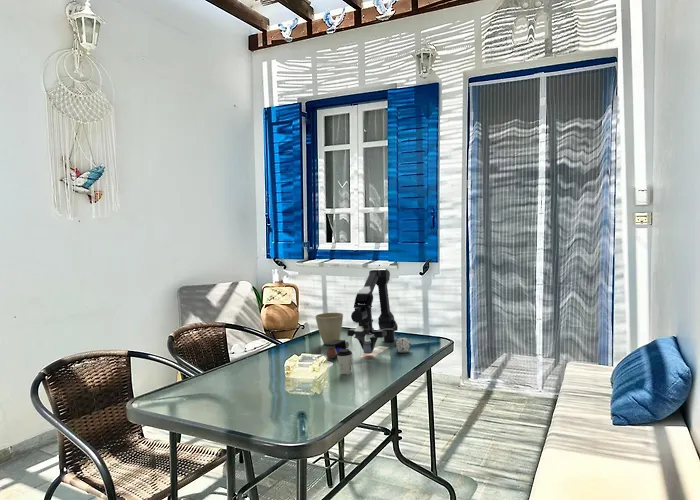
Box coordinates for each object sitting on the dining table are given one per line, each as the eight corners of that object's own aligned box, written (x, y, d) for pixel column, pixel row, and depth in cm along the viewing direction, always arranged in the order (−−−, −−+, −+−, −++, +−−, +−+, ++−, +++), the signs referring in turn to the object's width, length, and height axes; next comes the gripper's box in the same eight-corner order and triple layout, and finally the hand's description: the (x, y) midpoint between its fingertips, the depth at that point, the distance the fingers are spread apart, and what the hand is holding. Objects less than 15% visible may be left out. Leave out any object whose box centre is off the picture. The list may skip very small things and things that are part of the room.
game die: (406, 359, 244) (415, 341, 246) (406, 357, 236) (415, 339, 238) (390, 350, 246) (399, 333, 248) (389, 348, 238) (399, 330, 240)
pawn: (366, 350, 243) (365, 339, 243) (374, 351, 241) (373, 340, 241) (362, 353, 239) (361, 342, 239) (370, 353, 237) (369, 342, 237)
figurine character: (338, 353, 256) (322, 358, 242) (337, 338, 256) (322, 342, 242) (349, 354, 252) (335, 359, 239) (349, 339, 253) (335, 343, 239)
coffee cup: (356, 373, 215) (355, 350, 215) (342, 376, 212) (341, 353, 211) (348, 369, 221) (346, 347, 221) (334, 373, 218) (333, 350, 217)
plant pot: (325, 349, 260) (323, 319, 259) (313, 344, 273) (310, 315, 272) (350, 344, 267) (348, 314, 266) (336, 339, 280) (334, 311, 279)
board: (376, 346, 258) (376, 345, 258) (392, 347, 254) (392, 346, 254) (356, 358, 239) (356, 357, 239) (373, 359, 234) (373, 358, 234)
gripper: (340, 321, 237) (342, 353, 238) (376, 322, 228) (378, 356, 228) (351, 316, 246) (354, 347, 247) (386, 317, 237) (388, 350, 238)
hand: (368, 350), depth 240 cm, fingers closed on pawn, 4 cm apart
